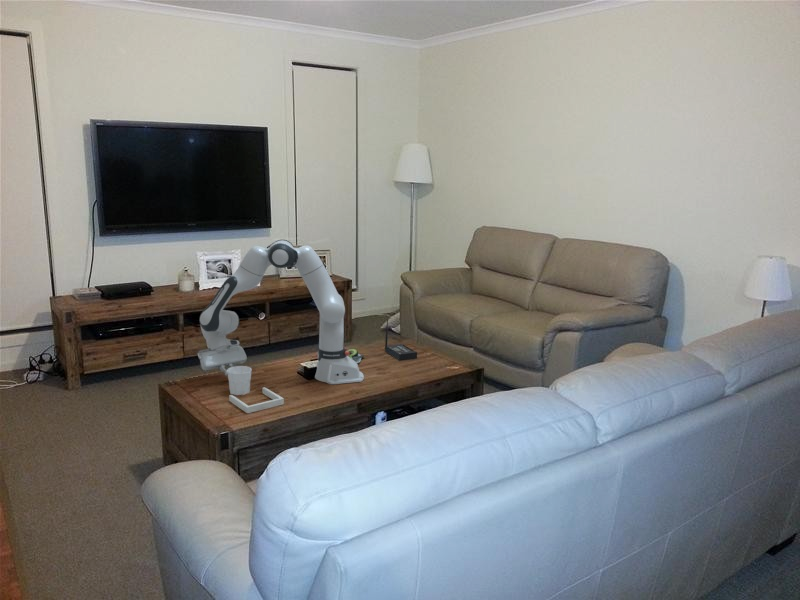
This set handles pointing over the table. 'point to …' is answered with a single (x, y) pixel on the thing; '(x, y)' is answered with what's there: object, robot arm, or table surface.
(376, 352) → the table surface
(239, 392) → the cup
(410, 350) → the wifi router
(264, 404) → the white u-shaped frame
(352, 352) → the salad plate
